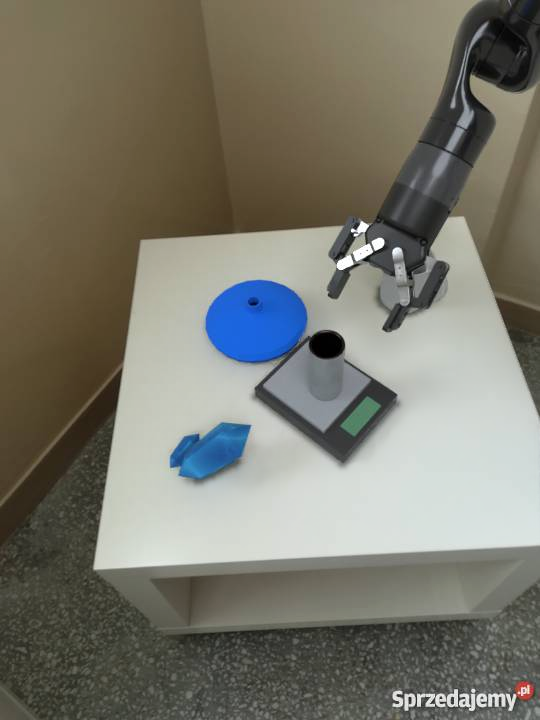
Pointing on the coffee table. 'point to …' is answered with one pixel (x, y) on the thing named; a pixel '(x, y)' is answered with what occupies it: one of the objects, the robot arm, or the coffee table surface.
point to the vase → (256, 321)
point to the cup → (391, 292)
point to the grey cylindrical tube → (326, 364)
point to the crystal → (210, 450)
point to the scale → (326, 403)
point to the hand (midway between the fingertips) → (358, 314)
